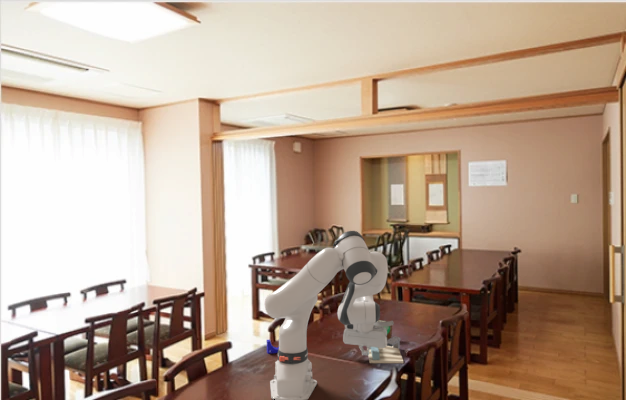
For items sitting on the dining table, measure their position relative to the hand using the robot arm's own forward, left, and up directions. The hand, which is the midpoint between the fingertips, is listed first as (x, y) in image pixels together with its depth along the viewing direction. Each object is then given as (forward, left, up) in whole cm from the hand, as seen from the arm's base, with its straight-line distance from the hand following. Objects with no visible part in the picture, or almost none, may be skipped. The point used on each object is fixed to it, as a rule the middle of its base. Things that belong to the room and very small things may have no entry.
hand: (365, 355), depth 201 cm
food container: (+28, -10, -2) cm, 30 cm away
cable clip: (+12, +41, -3) cm, 43 cm away
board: (+6, -9, -2) cm, 11 cm away
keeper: (+10, -14, -2) cm, 17 cm away
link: (+6, -5, -1) cm, 7 cm away
